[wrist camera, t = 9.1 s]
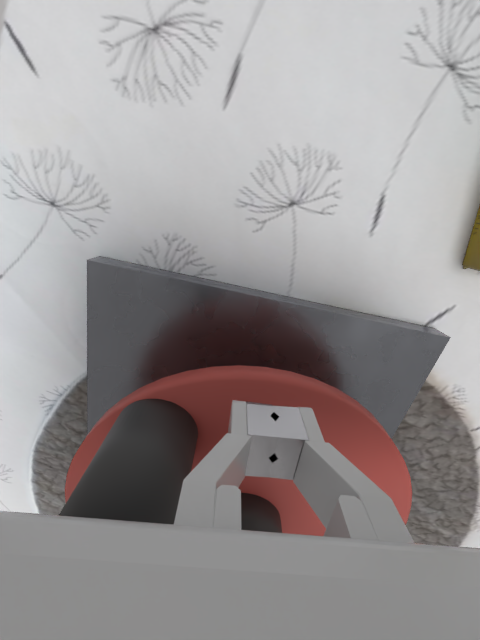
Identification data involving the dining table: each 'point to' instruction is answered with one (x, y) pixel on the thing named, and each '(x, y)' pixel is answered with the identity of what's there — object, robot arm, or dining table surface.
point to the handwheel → (204, 433)
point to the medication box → (473, 247)
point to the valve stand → (243, 339)
